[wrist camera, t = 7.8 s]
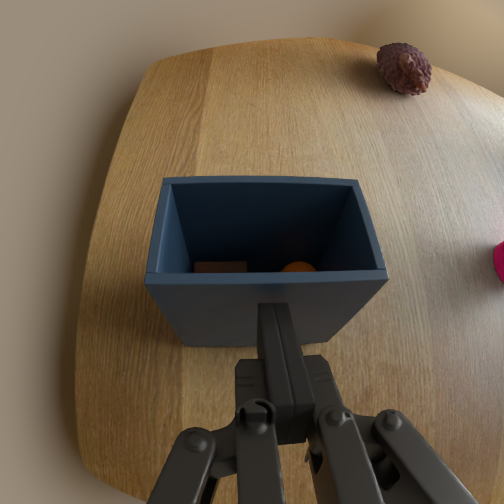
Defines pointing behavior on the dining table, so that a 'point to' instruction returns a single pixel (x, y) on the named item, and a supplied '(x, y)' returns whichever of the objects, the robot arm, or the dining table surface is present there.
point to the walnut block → (221, 267)
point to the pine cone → (404, 68)
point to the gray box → (261, 255)
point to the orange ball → (299, 267)
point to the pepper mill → (499, 260)
